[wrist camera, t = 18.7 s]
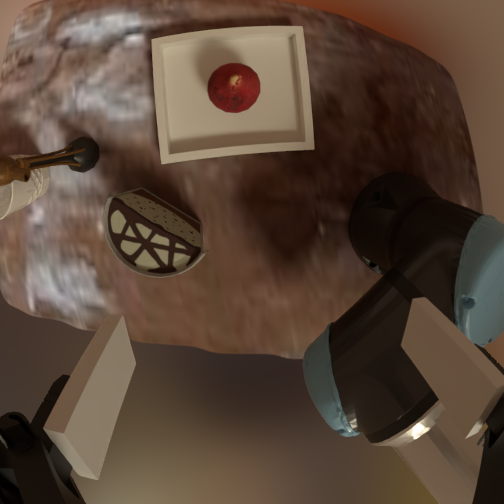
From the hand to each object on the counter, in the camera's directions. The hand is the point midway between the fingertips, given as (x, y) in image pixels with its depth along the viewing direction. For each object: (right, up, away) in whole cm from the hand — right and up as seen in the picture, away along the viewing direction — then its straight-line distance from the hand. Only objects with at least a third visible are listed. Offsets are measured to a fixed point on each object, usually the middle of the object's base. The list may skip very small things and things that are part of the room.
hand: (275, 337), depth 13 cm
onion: (-3, +23, +21) cm, 31 cm away
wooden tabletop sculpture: (-23, +17, +22) cm, 36 cm away
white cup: (-33, +15, +22) cm, 42 cm away
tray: (-3, +23, +21) cm, 32 cm away
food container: (-13, +7, +27) cm, 31 cm away
